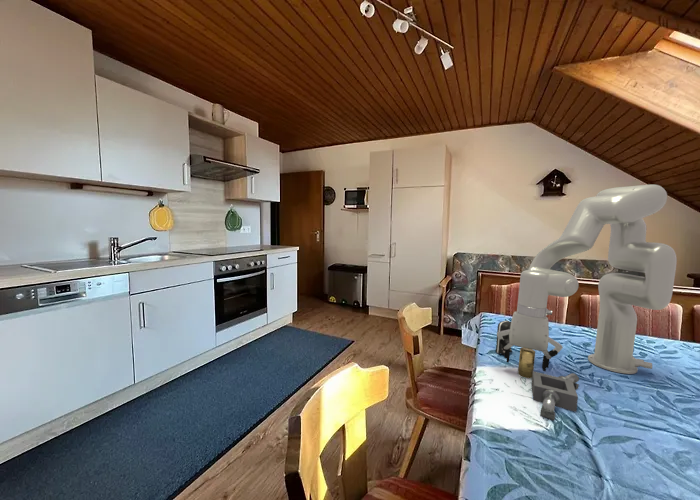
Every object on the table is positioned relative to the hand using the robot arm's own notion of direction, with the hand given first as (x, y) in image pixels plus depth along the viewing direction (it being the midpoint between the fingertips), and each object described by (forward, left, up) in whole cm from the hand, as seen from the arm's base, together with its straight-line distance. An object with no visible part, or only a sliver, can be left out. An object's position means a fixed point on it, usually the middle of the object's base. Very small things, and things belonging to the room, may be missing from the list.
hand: (525, 365), depth 91 cm
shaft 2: (-11, +2, -3) cm, 11 cm away
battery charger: (+6, -15, -3) cm, 17 cm away
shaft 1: (-5, +18, -3) cm, 19 cm away
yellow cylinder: (0, 0, -3) cm, 3 cm away
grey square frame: (-6, +10, -3) cm, 12 cm away
